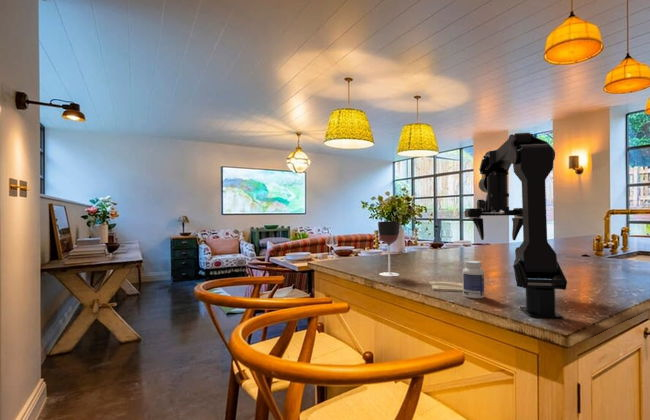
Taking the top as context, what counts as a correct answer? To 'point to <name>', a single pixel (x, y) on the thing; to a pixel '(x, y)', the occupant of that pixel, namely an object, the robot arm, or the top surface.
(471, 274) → the pill bottle
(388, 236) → the wineglass
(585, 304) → the top surface
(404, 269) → the top surface
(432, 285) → the coaster
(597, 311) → the top surface
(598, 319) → the top surface
